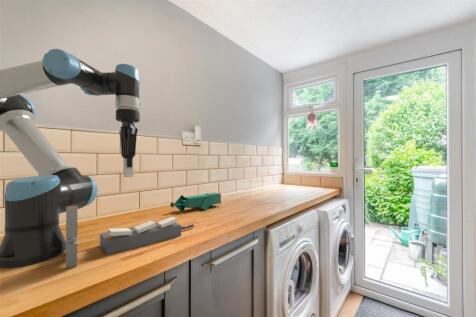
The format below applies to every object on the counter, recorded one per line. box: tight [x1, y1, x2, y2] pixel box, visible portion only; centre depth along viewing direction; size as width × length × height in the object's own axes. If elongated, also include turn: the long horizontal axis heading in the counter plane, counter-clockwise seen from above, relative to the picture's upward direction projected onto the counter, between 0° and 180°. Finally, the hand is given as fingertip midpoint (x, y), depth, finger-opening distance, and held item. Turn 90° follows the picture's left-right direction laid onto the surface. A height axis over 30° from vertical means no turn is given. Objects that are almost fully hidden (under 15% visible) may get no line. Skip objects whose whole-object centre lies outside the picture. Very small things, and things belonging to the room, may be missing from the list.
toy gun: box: [65, 205, 78, 270], centre depth 61 cm, size 2×16×15 cm
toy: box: [169, 191, 222, 213], centre depth 123 cm, size 12×10×30 cm
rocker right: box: [157, 216, 178, 228], centre depth 79 cm, size 6×4×1 cm, turn 133°
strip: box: [99, 221, 195, 256], centre depth 78 cm, size 32×10×4 cm, turn 133°
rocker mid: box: [133, 220, 156, 233], centre depth 73 cm, size 6×4×1 cm, turn 133°
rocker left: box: [106, 227, 132, 236], centre depth 68 cm, size 6×4×1 cm, turn 133°
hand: (128, 176), depth 76 cm, fingers closed
